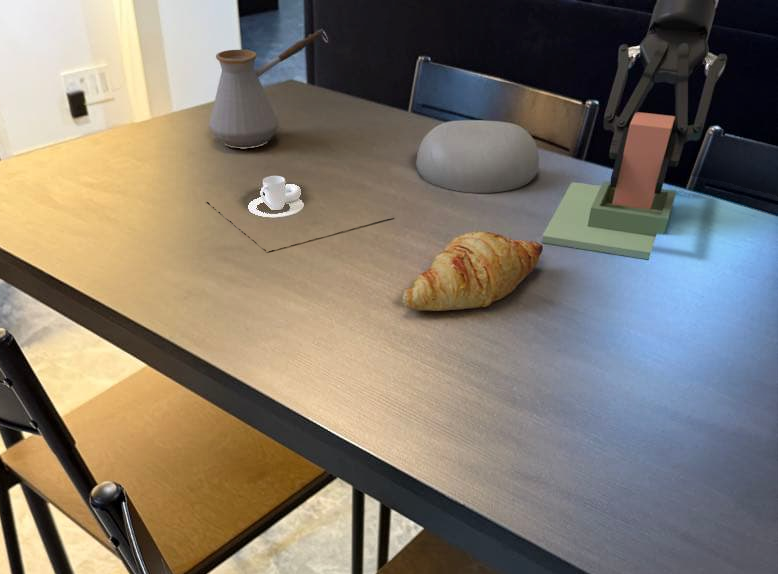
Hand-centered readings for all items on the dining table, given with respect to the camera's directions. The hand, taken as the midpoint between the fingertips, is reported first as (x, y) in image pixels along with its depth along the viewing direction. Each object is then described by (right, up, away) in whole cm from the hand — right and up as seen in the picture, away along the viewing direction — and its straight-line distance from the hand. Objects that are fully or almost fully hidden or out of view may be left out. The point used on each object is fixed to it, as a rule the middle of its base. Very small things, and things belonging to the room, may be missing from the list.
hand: (635, 185), depth 98 cm
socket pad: (+1, -2, +7) cm, 7 cm away
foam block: (+1, 0, +5) cm, 5 cm away
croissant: (-22, -16, -6) cm, 28 cm away
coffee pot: (-51, +23, +32) cm, 65 cm away
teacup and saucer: (-45, +1, +11) cm, 46 cm away
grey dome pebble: (-18, +11, +21) cm, 30 cm away
